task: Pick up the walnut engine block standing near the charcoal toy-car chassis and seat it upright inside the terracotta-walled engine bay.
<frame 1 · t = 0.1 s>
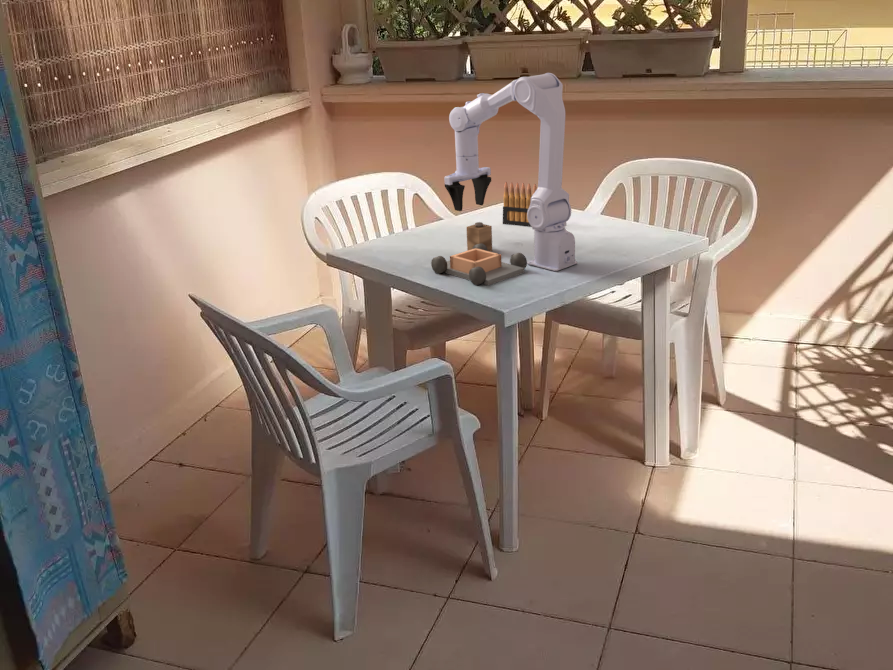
hand: (469, 207, 228), 10 cm above the table, fingers open, 7 cm apart
engine block: (479, 251, 226), on the table
ammunition clip: (521, 225, 247), on the table
chassis: (479, 271, 210), on the table
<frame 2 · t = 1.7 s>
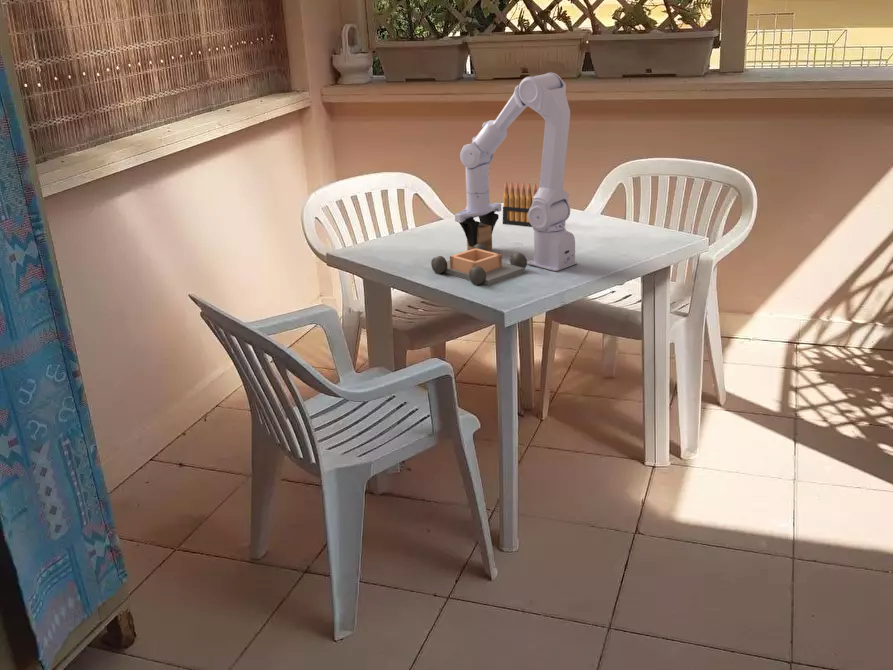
hand: (479, 244, 225), 2 cm above the table, fingers closed on engine block, 4 cm apart
engine block: (479, 250, 226), on the table, touching gripper
everything else where it was.
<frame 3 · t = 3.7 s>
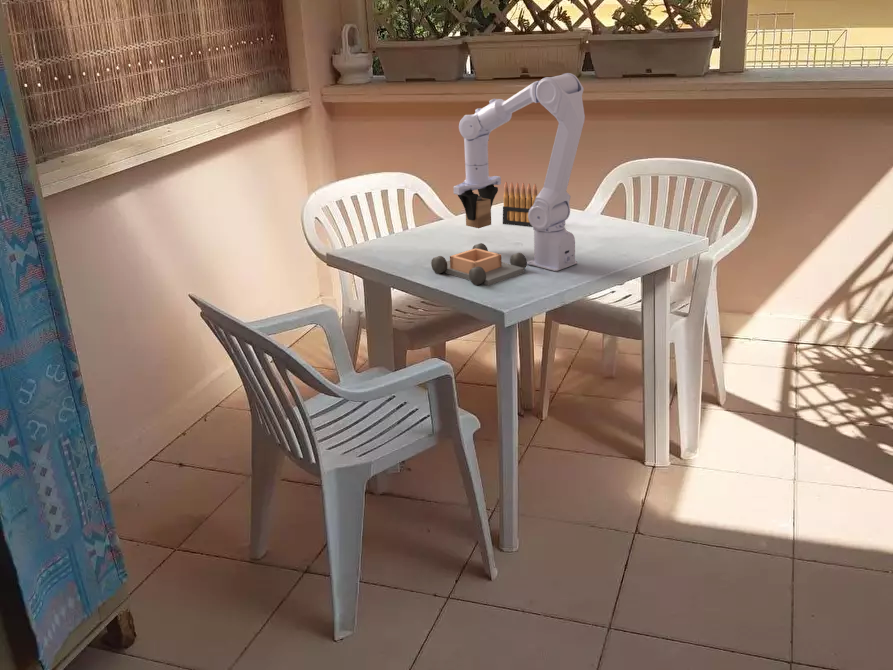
hand: (478, 217, 222), 9 cm above the table, fingers closed on engine block, 4 cm apart
engine block: (478, 225, 223), point 7 cm above the table, touching gripper
everything else where it was.
when the fingers open (5 cm above the table, at t = 6.0 s): engine block drops 1 cm, resting on chassis.
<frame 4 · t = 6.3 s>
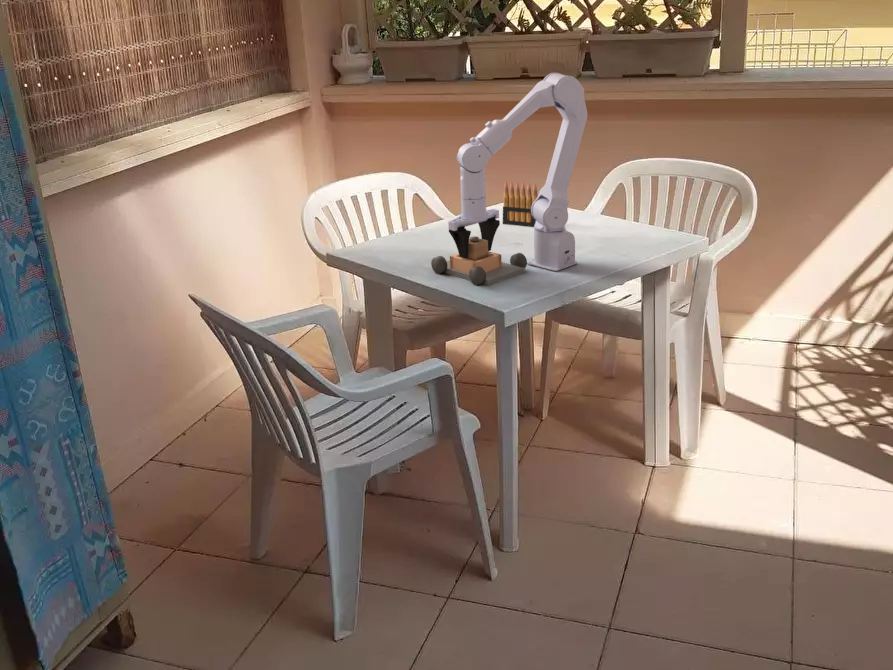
hand: (475, 253, 208), 5 cm above the table, fingers open, 7 cm apart
engine block: (475, 267, 209), point 1 cm above the table, touching chassis
everything else where it was.
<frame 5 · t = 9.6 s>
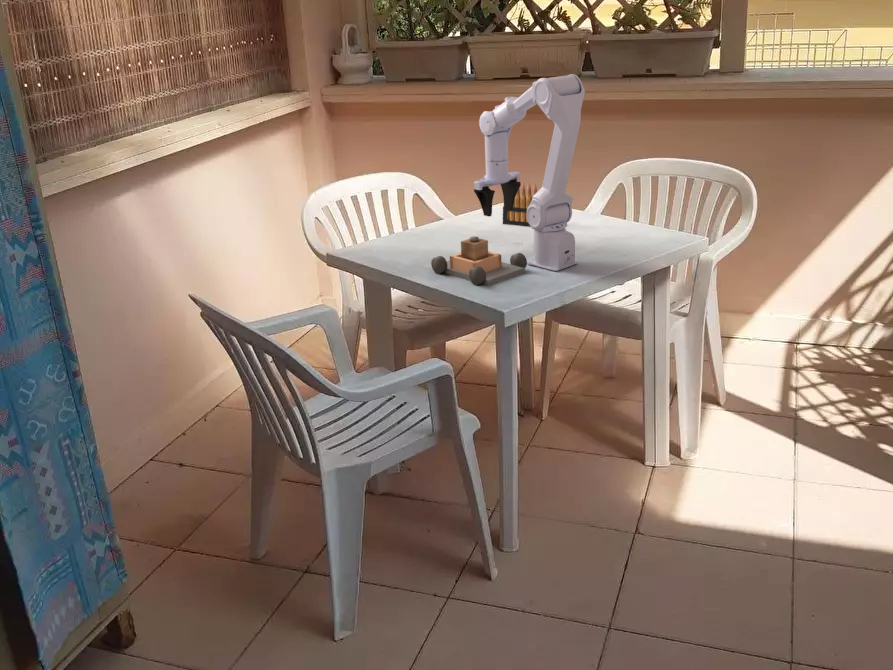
hand: (498, 212, 225), 9 cm above the table, fingers open, 7 cm apart
nothing on the table moved.
at the end: engine block 0.2 cm from the target spot on the chassis, point 1.2 cm above the chassis's base; engine block tilted 0°; the gripper is holding nothing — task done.
